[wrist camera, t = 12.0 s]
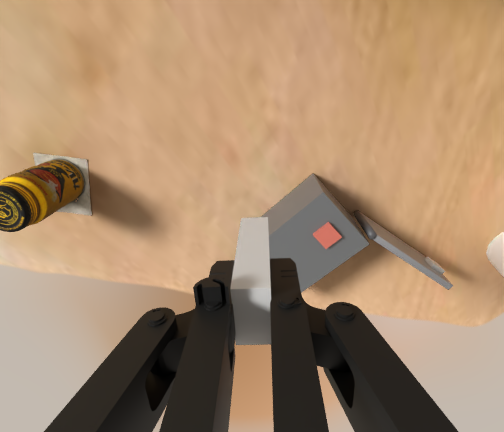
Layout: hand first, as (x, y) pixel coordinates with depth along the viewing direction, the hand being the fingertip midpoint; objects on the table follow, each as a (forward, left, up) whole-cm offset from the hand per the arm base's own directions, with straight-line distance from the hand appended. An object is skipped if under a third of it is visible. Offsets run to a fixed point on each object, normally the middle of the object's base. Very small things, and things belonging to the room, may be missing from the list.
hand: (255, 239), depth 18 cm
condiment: (+24, -15, -27) cm, 39 cm away
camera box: (+5, +12, -26) cm, 30 cm away
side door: (-6, +23, -26) cm, 35 cm away
